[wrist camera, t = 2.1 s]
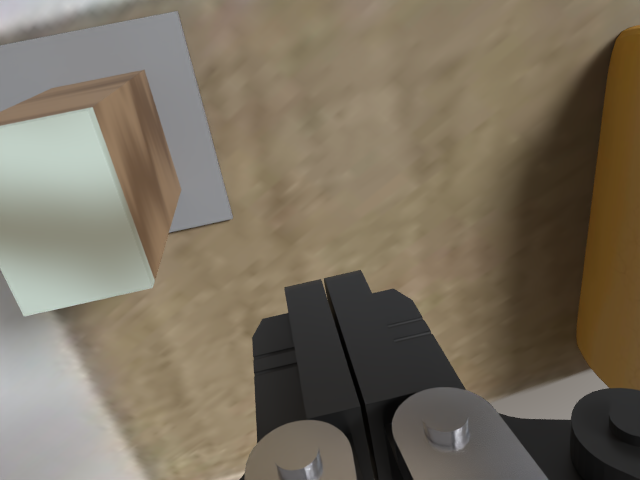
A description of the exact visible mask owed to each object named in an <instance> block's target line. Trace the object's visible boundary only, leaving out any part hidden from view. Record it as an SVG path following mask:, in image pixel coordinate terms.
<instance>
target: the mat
mask: <svg viewBox="0 0 640 480" xmlns="http://www.w3.org/2000/svg"><path fill="white" fill-rule="evenodd" d="M140 70H145V73H146V76H147V79H148V83H149V86H150V89H151V92H152V96H153V99H154V102H155V105H156V109H157V112H158V115H159V118H160V122H161V125H162V128H163V132H164V135H165V138H166V141H167V145H168V148H169V151H170V154H171V158H172V161H173V164H174V167H175V171H176V174H177V177H178V180H179V184H180V187H181V193H180V196H179V200H178V203H177V207H176V210H175V213H174V217H173V220H172V224H171V227H170V230H169V233H170V232H174V231H179V230H183V229H188V228H192V227H197V226H202V225H206V224H211V223H215V222H220V221H224V220H229V219H233V215H232V212H231V208H230V204H229V200H228V197H227V193H226V189H225V185H224V182H223V178H222V174H221V171H220V167H219V163H218V159H217V156H216V152H215V148H214V144H213V141H212V137H211V133H210V130H209V126H208V122H207V118H206V115H205V111H204V107H203V104H202V100H201V96H200V92H199V89H198V85H197V81H196V77H195V74H194V70H193V66H192V63H191V59H190V55H189V51H188V48H187V44H186V40H185V36H184V33H183V29H182V25H181V22H180V18H179V14H178V11H175V12H170V13H165V14H160V15H154V16H149V17H144V18H139V19H134V20H129V21H124V22H118V23H113V24H108V25H103V26H98V27H93V28H87V29H82V30H77V31H72V32H67V33H62V34H56V35H51V36H46V37H41V38H36V39H31V40H26V41H20V42H15V43H10V44H5V45H0V112H1V111H3V110H5V109H7V108H9V107H12V106H14V105H16V104H18V103H20V102H23V101H25V100H27V99H29V98H31V97H34V96H36V95H38V94H40V93H42V92H44V91H47V90H49V89H51V88H55V87H60V86H65V85H70V84H75V83H80V82H85V81H90V80H95V79H100V78H105V77H110V76H115V75H120V74H125V73H130V72H135V71H140Z"/></svg>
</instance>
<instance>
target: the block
mask: <svg viewBox="0 0 640 480" xmlns="http://www.w3.org/2000/svg"><path fill="white" fill-rule="evenodd" d="M180 193H181V187H180V184H179V180H178V177H177V174H176V171H175V167H174V164H173V161H172V158H171V154H170V151H169V148H168V145H167V141H166V138H165V135H164V132H163V128H162V125H161V122H160V118H159V115H158V112H157V109H156V105H155V102H154V99H153V96H152V92H151V89H150V86H149V83H148V79H147V76H146V73H145V70H140V71H135V72H130V73H125V74H120V75H115V76H110V77H105V78H100V79H95V80H90V81H85V82H80V83H75V84H70V85H65V86H60V87H55V88H51V89H49V90H47V91H44V92H42V93H40V94H38V95H36V96H34V97H31V98H29V99H27V100H25V101H23V102H20V103H18V104H16V105H14V106H12V107H9V108H7V109H5V110H3V111H1V112H0V270H1V272H2V274H3V276H4V278H5V280H6V282H7V284H8V286H9V288H10V290H11V292H12V294H13V296H14V298H15V300H16V302H17V304H18V306H19V308H20V310H21V312H22V314H23V316H24V317H25V316H29V315H34V314H38V313H42V312H47V311H51V310H56V309H60V308H65V307H69V306H74V305H78V304H83V303H87V302H92V301H96V300H100V299H105V298H109V297H114V296H118V295H123V294H127V293H132V292H136V291H141V290H145V289H149V288H153V285H154V282H155V278H156V275H157V271H158V268H159V264H160V261H161V258H162V254H163V251H164V247H165V244H166V241H167V237H168V234H169V230H170V227H171V224H172V220H173V217H174V213H175V210H176V207H177V203H178V200H179V196H180Z"/></svg>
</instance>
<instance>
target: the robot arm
mask: <svg viewBox="0 0 640 480" xmlns="http://www.w3.org/2000/svg"><path fill="white" fill-rule="evenodd" d="M324 283H325V289H326V294H327V297H326V294H325V290H324V287H323V284H322V281H321V279H319V280H315V281H311V282H306V283H302V284H297V285H293V286H289V287H284V288H285V295H286V301H287V306H288V312H289V313H286V314H282V315H278V316H273V317H269V318H265V319H262V321H261V323H260V325H259V326H258V328H257V330H256V332H255V334H254V335H253V337H252V341H253V357H254V360H253V361H254V374H255V377H254V382H255V402H256V423H257V445H256V446H255V447H254V448H253V450H252V452H251V453H250V455H249V458H248V460H247V463H246V468H245V474H244V475H243V476H242V477H241V479H240V480H640V390H635V389H627V388H609V389H602V390H598V391H595V392H592V393H590V394H588V395H586V396H584V397H583V398H582V399H580V400H579V401H578V403H577V404H576V405H575V407H574V409H573V411H572V416H571V420H546V419H544V420H543V419H542V420H541V419H520V418H515V417H509V416H506V415H503V414H499V413H498V412H497V411H496V410H495V409H494V408H493V406H492V405H491V404H490V403H489V402H487V401H486V400H485V399H484V398H482V397H480V396H478V395H477V394H475V393H472V392H470V391H467V390H466V389H465V388H464V386H463V384H462V383H461V381H460V379H459V378H458V376H457V374H456V373H455V371H454V369H453V367H452V366H451V364H450V362H449V361H448V359H447V357H446V356H445V354H444V352H443V351H442V349H441V347H440V346H439V344H438V342H437V341H436V339H435V337H434V336H433V334H431V331H430V329H429V327H428V326H427V324H426V322H425V321H424V320H423V318H422V316H421V314H420V312H419V310H418V309H417V307H416V305H415V304H414V302H413V300H411V299H410V298H408V297H406V296H405V295H403V294H401V293H400V292H398V291H396V290H395V289H390V290H385V291H381V292H377V293H372V292H371V290H370V288H369V286H368V284H367V282H366V280H365V278H364V275H363V273H362V271H361V270H358V271H354V272H350V273H345V274H341V275H336V276H332V277H328V278H324ZM327 299H328V300H327Z"/></svg>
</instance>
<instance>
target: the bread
mask: <svg viewBox="0 0 640 480" xmlns="http://www.w3.org/2000/svg"><path fill="white" fill-rule="evenodd" d="M576 339H577V346H578V348H579V349H580V351H581V353H582V355H583V357H584V359H585V360H586V362H587V363H588V365H589V367H590V368H591V369H592V370H593V371H594V372H595V373H596V375H597V376H598V377H599V378H600V379H601V380H602V381H603V382H604V383H605V384H606V385H607V386H608V387H609V388H627V389H635V390H640V25H639V26H634V27H630V28H627V29H626V30H624V31H622V32H621V33H620V35H619V36H618V38H617V39H616V41H615V45H614V48H613V51H612V54H611V60H610V65H609V70H608V76H607V83H606V90H605V98H604V106H603V114H602V122H601V131H600V139H599V147H598V155H597V163H596V171H595V179H594V188H593V196H592V204H591V212H590V220H589V228H588V236H587V245H586V253H585V261H584V269H583V277H582V285H581V293H580V302H579V310H578V319H577V334H576Z"/></svg>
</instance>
